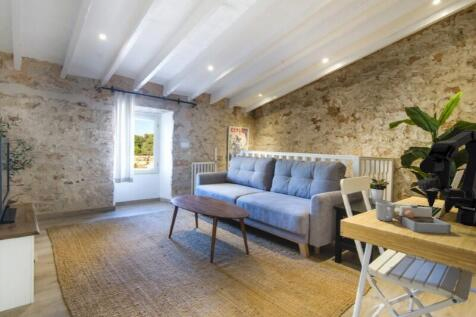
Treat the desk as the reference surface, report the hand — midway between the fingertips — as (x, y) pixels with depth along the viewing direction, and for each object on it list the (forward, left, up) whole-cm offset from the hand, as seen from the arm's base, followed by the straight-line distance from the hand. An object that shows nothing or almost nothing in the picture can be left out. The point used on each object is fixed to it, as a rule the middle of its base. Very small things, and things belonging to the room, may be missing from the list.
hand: (438, 209), depth 108 cm
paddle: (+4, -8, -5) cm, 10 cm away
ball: (+9, -5, -4) cm, 11 cm away
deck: (+4, -9, -8) cm, 13 cm away
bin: (+6, +2, -8) cm, 10 cm away
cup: (+17, -8, -8) cm, 21 cm away
